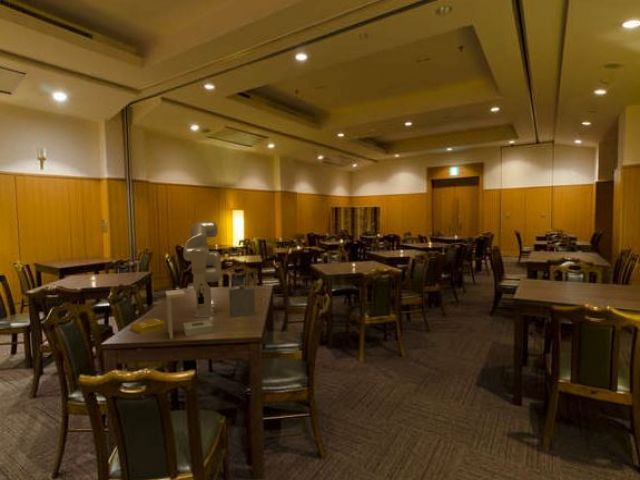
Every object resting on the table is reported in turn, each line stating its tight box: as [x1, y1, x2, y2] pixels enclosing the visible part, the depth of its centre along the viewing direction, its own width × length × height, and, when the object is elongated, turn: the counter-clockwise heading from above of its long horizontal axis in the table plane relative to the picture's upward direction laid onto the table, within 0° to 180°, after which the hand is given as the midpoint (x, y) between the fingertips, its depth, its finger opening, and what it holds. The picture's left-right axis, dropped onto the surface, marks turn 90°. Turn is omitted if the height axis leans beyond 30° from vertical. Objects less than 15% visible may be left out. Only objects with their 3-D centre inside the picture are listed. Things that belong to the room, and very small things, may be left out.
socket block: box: [165, 289, 213, 340], centre depth 214 cm, size 14×22×24 cm, turn 115°
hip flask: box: [228, 284, 256, 318], centre depth 248 cm, size 16×4×20 cm, turn 103°
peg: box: [195, 290, 204, 311], centre depth 216 cm, size 4×4×12 cm
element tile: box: [129, 317, 166, 335], centre depth 224 cm, size 15×15×5 cm
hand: (200, 302), depth 216 cm, fingers closed on peg, 4 cm apart
